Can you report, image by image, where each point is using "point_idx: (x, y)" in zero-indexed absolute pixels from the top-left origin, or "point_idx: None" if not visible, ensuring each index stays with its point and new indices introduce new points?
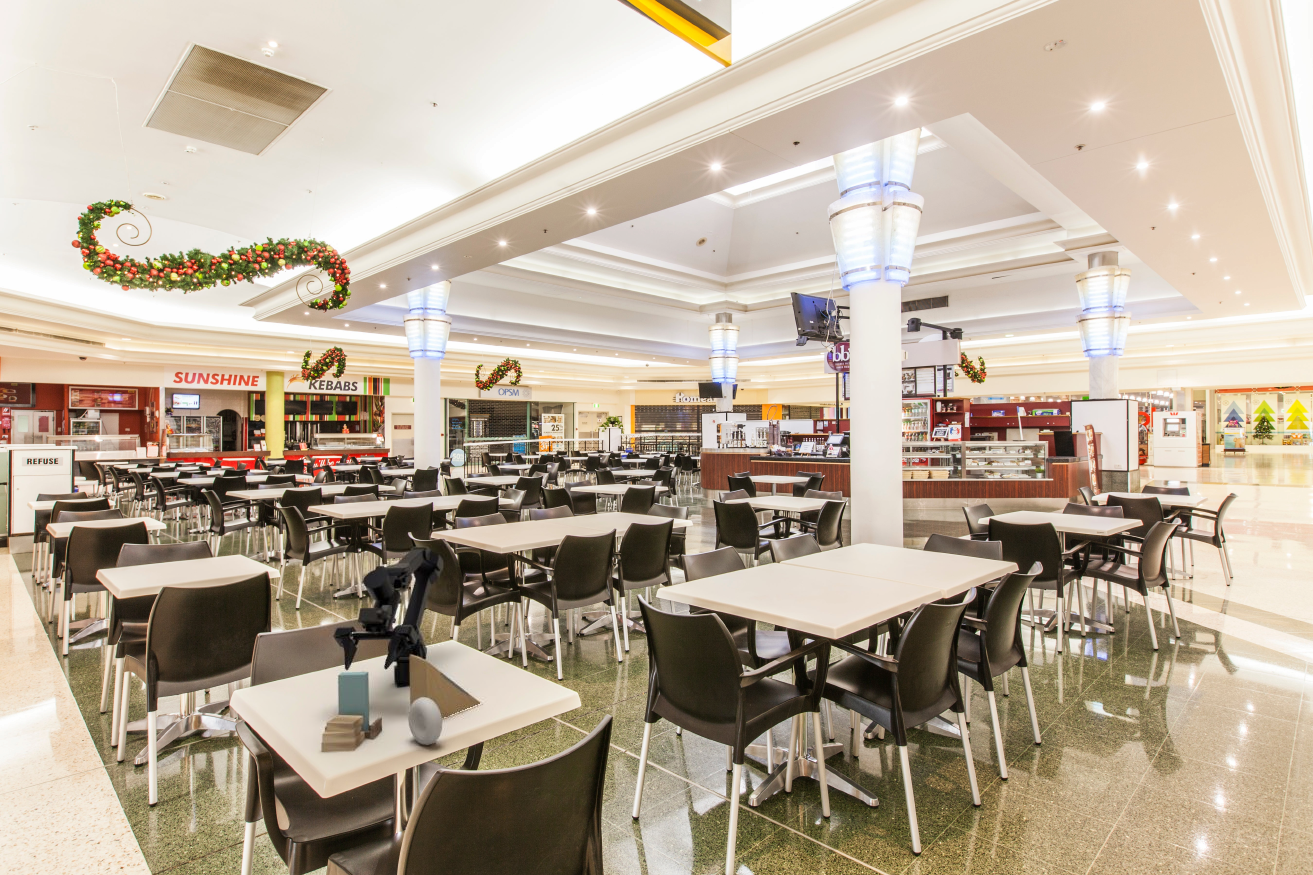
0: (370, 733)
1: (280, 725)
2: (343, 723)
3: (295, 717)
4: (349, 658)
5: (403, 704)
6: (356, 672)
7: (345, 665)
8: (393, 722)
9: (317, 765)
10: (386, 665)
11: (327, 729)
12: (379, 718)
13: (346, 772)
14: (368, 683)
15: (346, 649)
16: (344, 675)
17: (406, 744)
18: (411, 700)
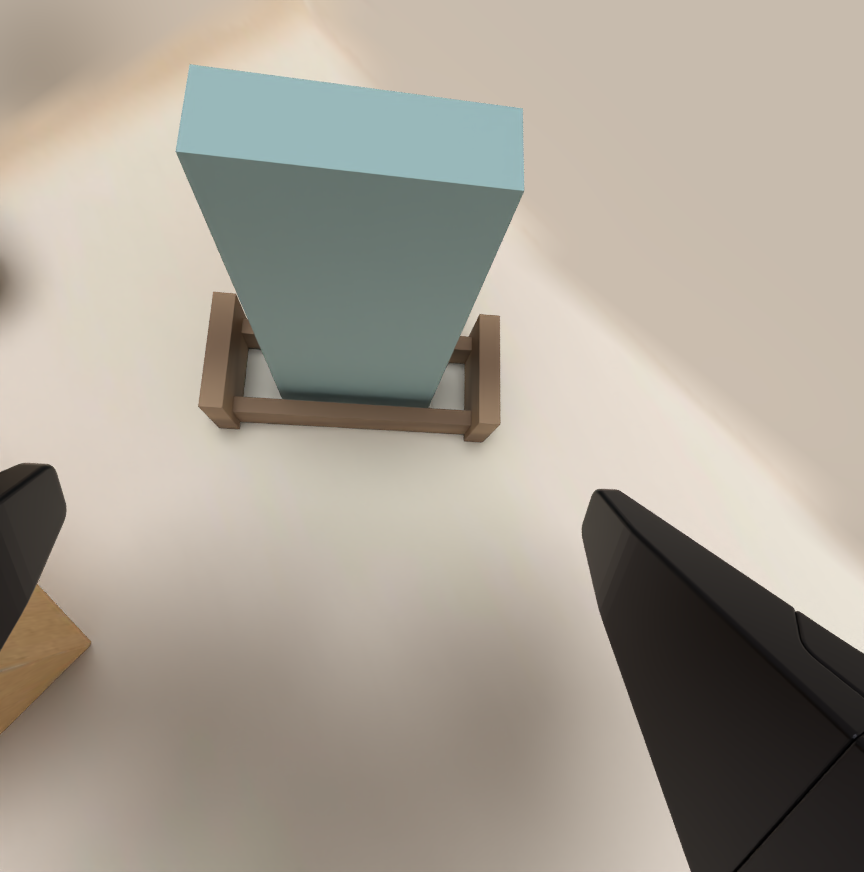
0: (244, 315)
1: (812, 556)
2: None
3: None
4: (660, 603)
5: (192, 856)
6: (335, 161)
7: (631, 507)
8: (181, 534)
9: None
10: (3, 471)
11: None
12: (211, 393)
13: (249, 48)
14: (216, 243)
15: (859, 686)
16: (447, 105)
17: (31, 245)
18: (21, 646)
